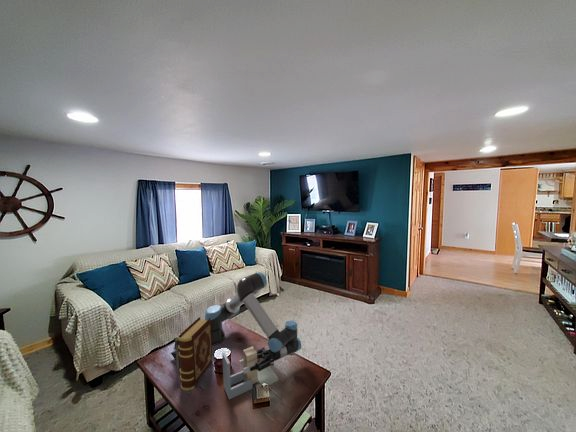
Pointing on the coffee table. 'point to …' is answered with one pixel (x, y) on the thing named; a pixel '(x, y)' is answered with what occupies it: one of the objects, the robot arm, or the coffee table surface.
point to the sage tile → (267, 376)
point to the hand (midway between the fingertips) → (241, 367)
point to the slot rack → (234, 380)
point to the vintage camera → (176, 352)
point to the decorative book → (195, 352)
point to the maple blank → (248, 360)
